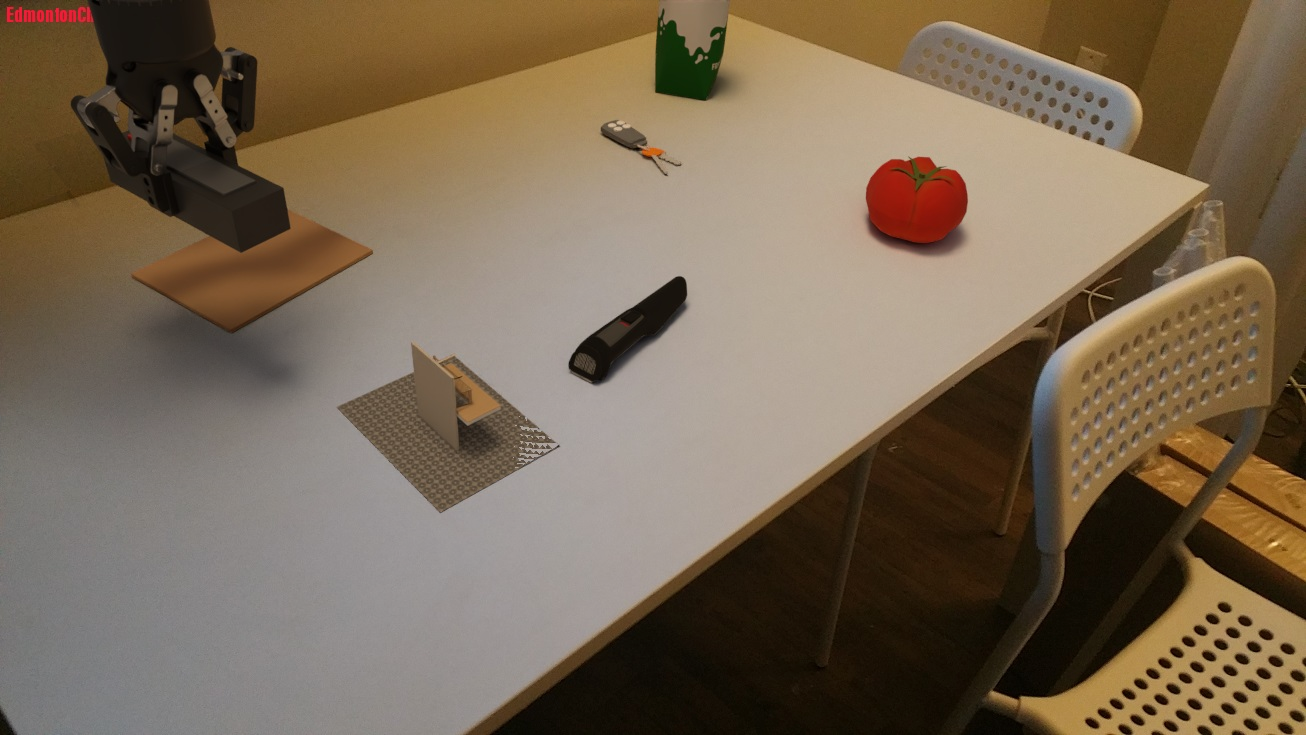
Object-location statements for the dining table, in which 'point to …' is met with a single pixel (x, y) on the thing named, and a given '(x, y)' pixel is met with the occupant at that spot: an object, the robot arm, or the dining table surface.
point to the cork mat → (251, 272)
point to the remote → (217, 195)
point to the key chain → (635, 141)
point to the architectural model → (444, 429)
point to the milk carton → (689, 46)
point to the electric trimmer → (627, 331)
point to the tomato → (916, 199)
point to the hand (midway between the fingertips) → (197, 198)
